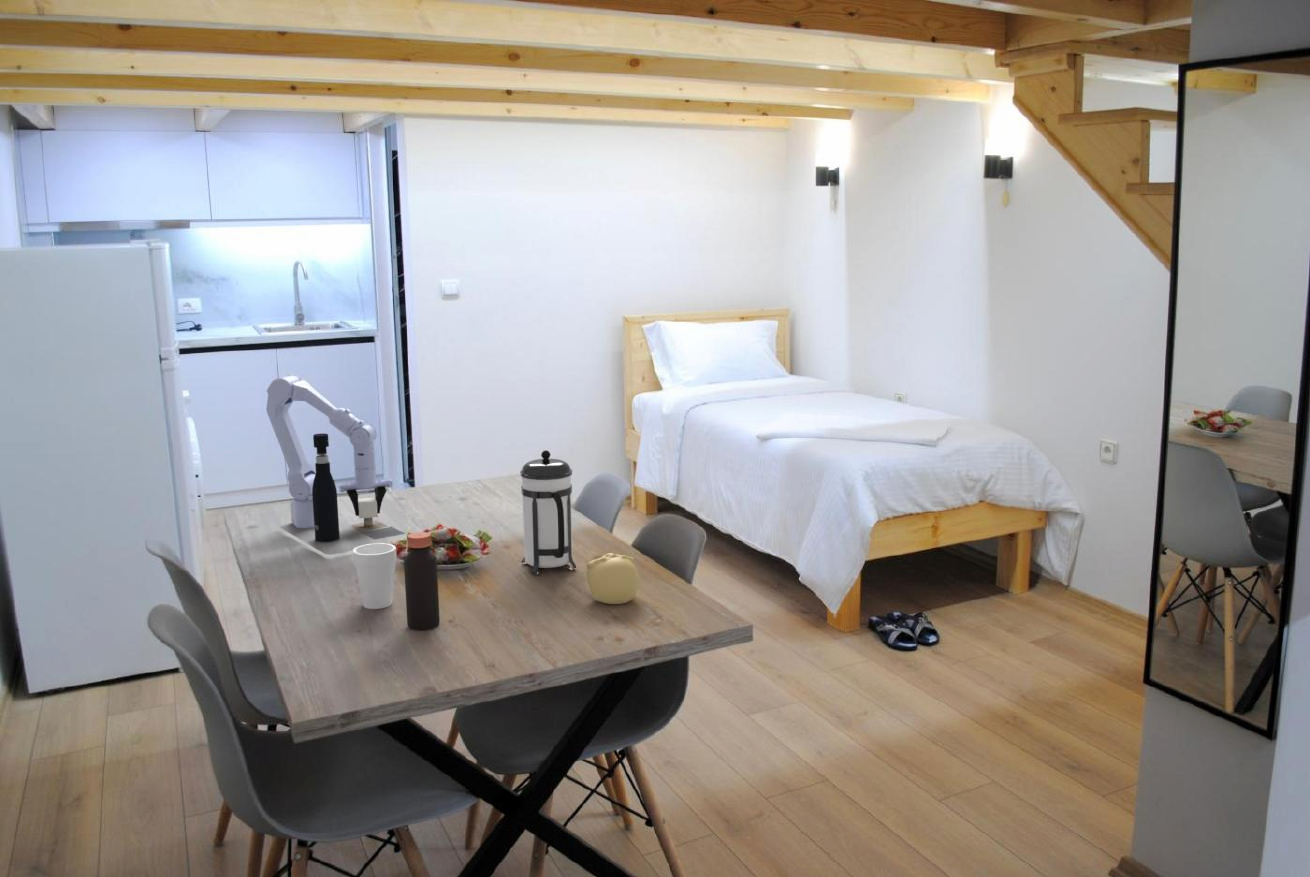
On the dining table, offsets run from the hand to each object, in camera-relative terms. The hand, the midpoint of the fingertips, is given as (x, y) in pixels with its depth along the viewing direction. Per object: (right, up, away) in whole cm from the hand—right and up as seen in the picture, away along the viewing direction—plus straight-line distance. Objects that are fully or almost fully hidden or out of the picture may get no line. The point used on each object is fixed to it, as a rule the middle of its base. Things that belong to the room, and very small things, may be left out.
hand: (367, 513), depth 302 cm
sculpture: (+73, -16, -60) cm, 96 cm away
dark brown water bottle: (+33, -19, -76) cm, 84 cm away
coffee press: (+56, -11, -37) cm, 68 cm away
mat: (+6, -6, -7) cm, 11 cm away
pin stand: (0, -4, +1) cm, 4 cm away
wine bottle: (-8, -7, -12) cm, 16 cm away
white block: (0, -1, 0) cm, 0 cm away
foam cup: (+19, -16, -62) cm, 67 cm away
